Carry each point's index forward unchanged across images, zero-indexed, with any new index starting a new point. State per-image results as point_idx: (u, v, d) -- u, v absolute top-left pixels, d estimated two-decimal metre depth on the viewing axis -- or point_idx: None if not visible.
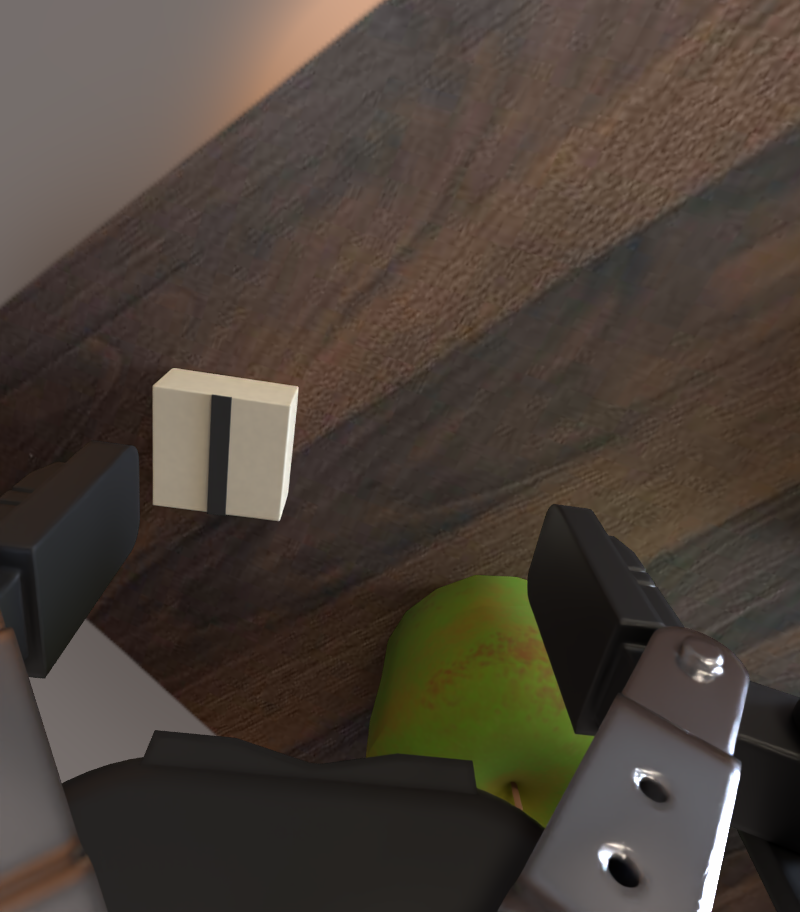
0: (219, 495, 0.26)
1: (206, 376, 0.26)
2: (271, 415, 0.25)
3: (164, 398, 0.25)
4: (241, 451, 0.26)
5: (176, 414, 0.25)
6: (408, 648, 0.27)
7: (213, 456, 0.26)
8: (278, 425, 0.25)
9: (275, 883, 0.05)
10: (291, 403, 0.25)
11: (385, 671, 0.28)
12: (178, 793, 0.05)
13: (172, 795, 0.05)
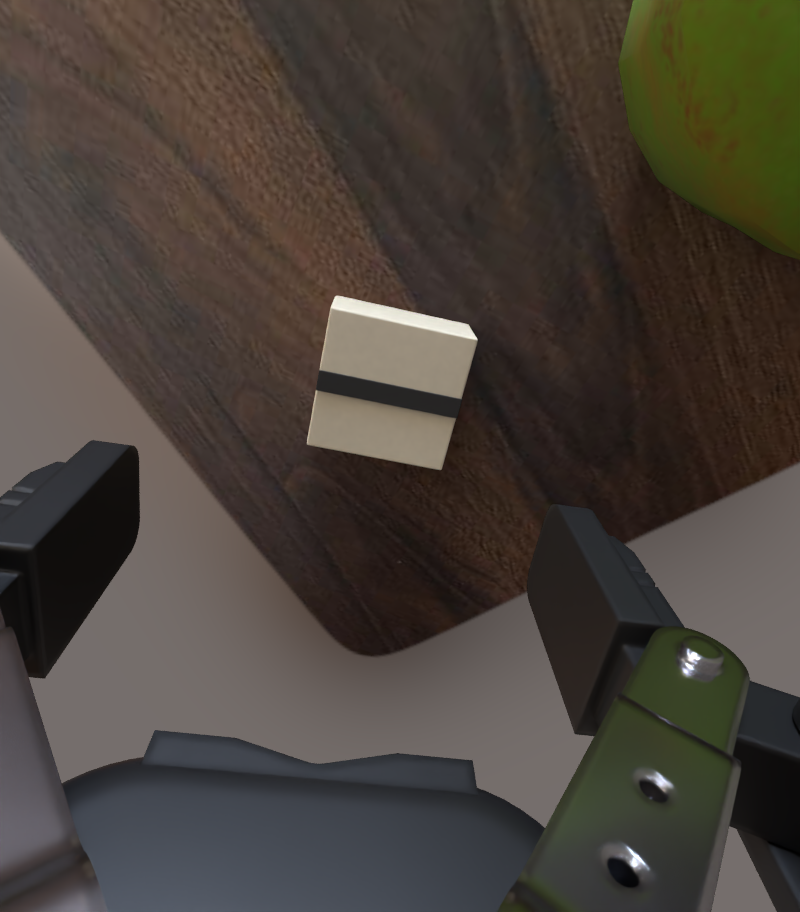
0: (435, 401, 0.23)
1: None
2: (341, 330, 0.22)
3: (320, 436, 0.24)
4: (384, 369, 0.23)
5: (337, 428, 0.24)
6: (679, 179, 0.18)
7: (387, 399, 0.23)
8: (354, 324, 0.22)
9: (275, 883, 0.05)
10: (332, 306, 0.22)
11: (722, 219, 0.19)
12: (178, 793, 0.05)
13: (172, 795, 0.05)
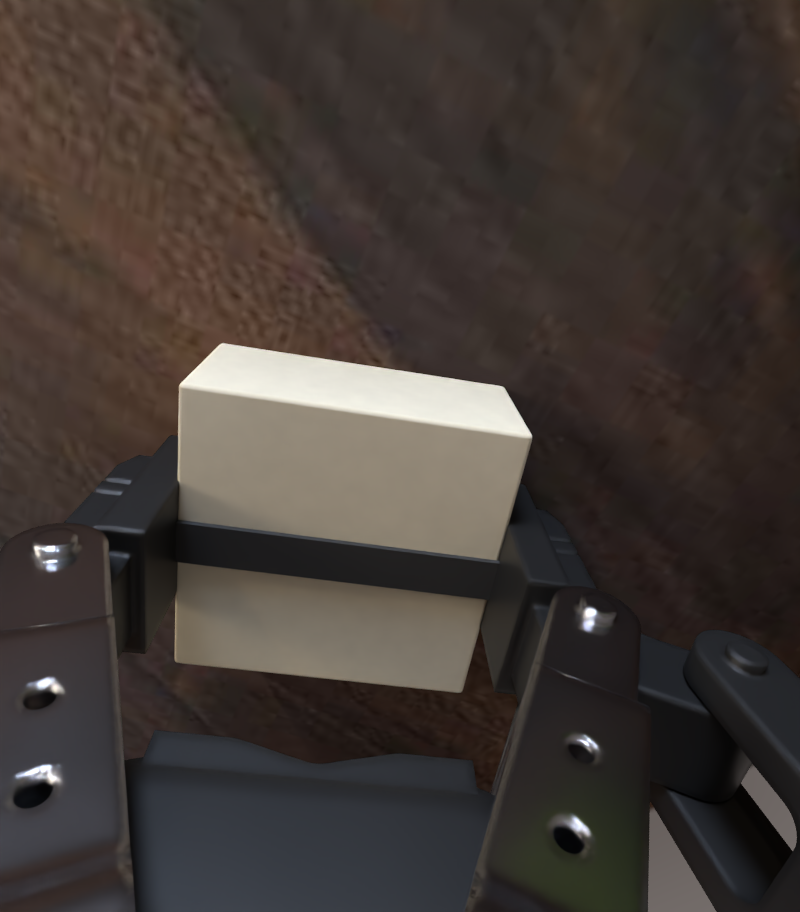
0: (441, 570, 0.11)
1: None
2: (211, 434, 0.10)
3: (200, 646, 0.11)
4: (321, 511, 0.10)
5: (234, 629, 0.11)
6: None
7: (336, 570, 0.11)
8: (239, 417, 0.09)
9: (275, 883, 0.05)
10: (188, 377, 0.10)
11: None
12: (178, 793, 0.05)
13: (172, 795, 0.05)
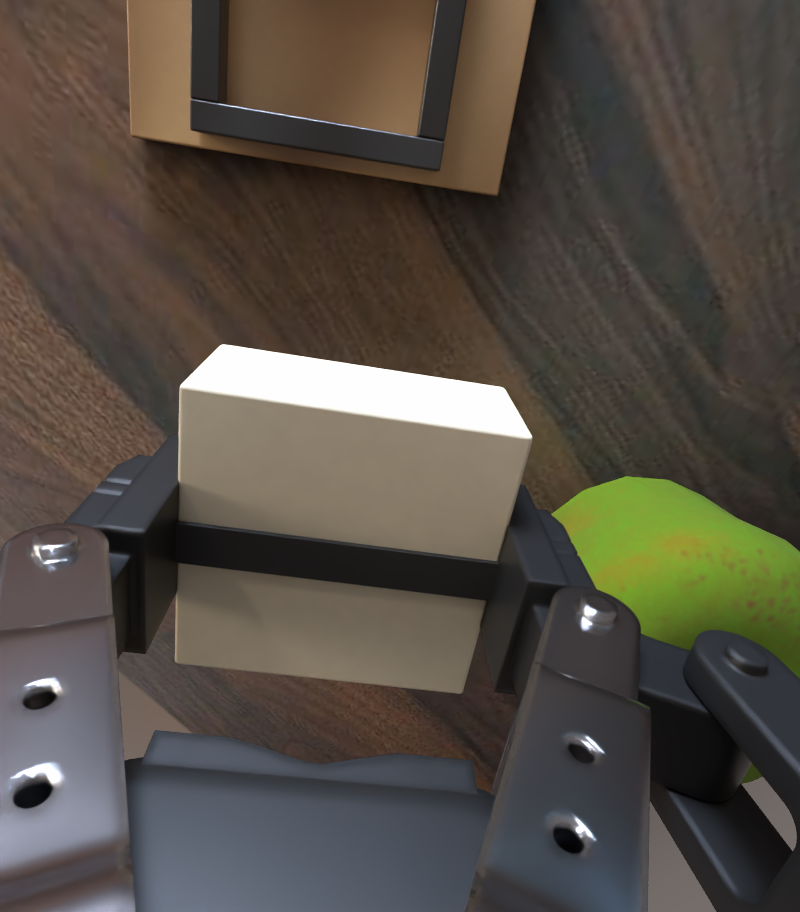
0: (442, 570, 0.11)
1: None
2: (212, 435, 0.10)
3: (200, 647, 0.11)
4: (321, 512, 0.10)
5: (235, 630, 0.11)
6: None
7: (336, 571, 0.11)
8: (239, 418, 0.09)
9: (275, 883, 0.05)
10: (188, 378, 0.10)
11: None
12: (178, 793, 0.05)
13: (172, 795, 0.05)
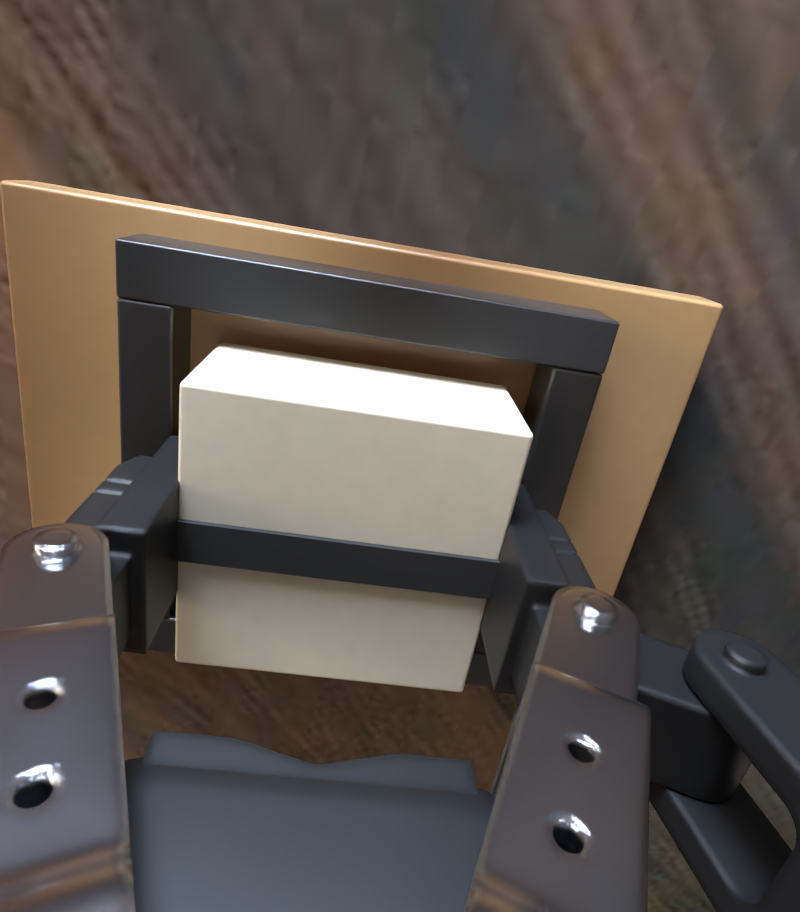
0: (442, 569, 0.11)
1: None
2: (212, 432, 0.10)
3: (200, 645, 0.11)
4: (321, 510, 0.10)
5: (234, 629, 0.11)
6: None
7: (336, 569, 0.11)
8: (239, 416, 0.09)
9: (275, 883, 0.05)
10: (188, 376, 0.10)
11: None
12: (178, 793, 0.05)
13: (172, 795, 0.05)
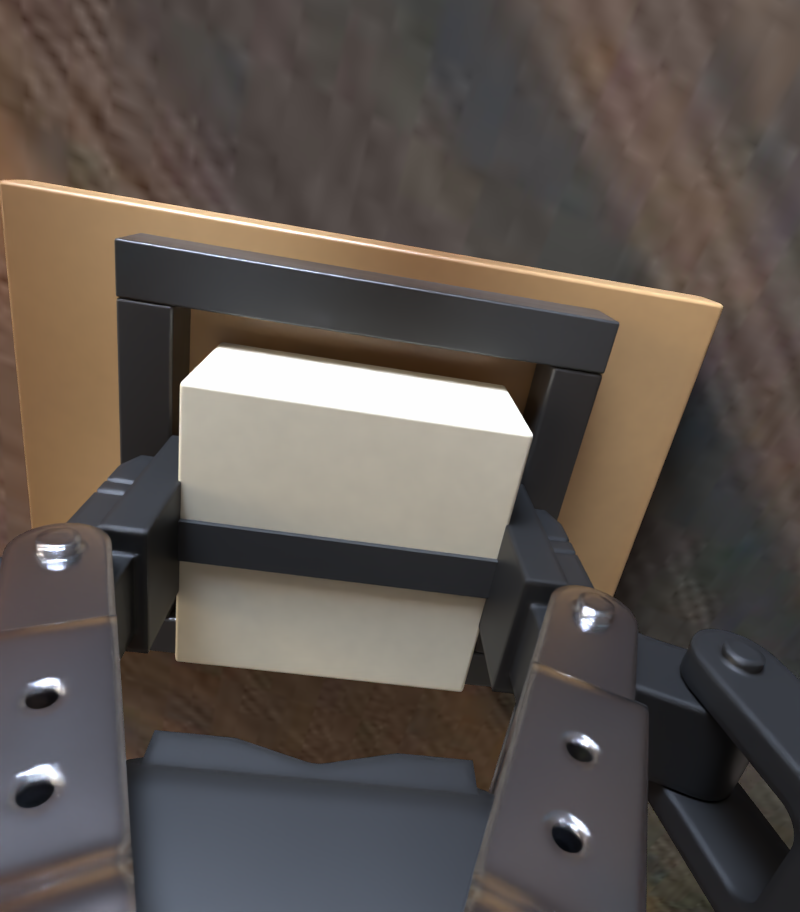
0: (442, 568, 0.11)
1: None
2: (213, 432, 0.10)
3: (201, 644, 0.11)
4: (321, 510, 0.10)
5: (235, 628, 0.11)
6: None
7: (336, 569, 0.11)
8: (239, 416, 0.09)
9: (275, 883, 0.05)
10: (189, 376, 0.10)
11: None
12: (178, 793, 0.05)
13: (172, 795, 0.05)
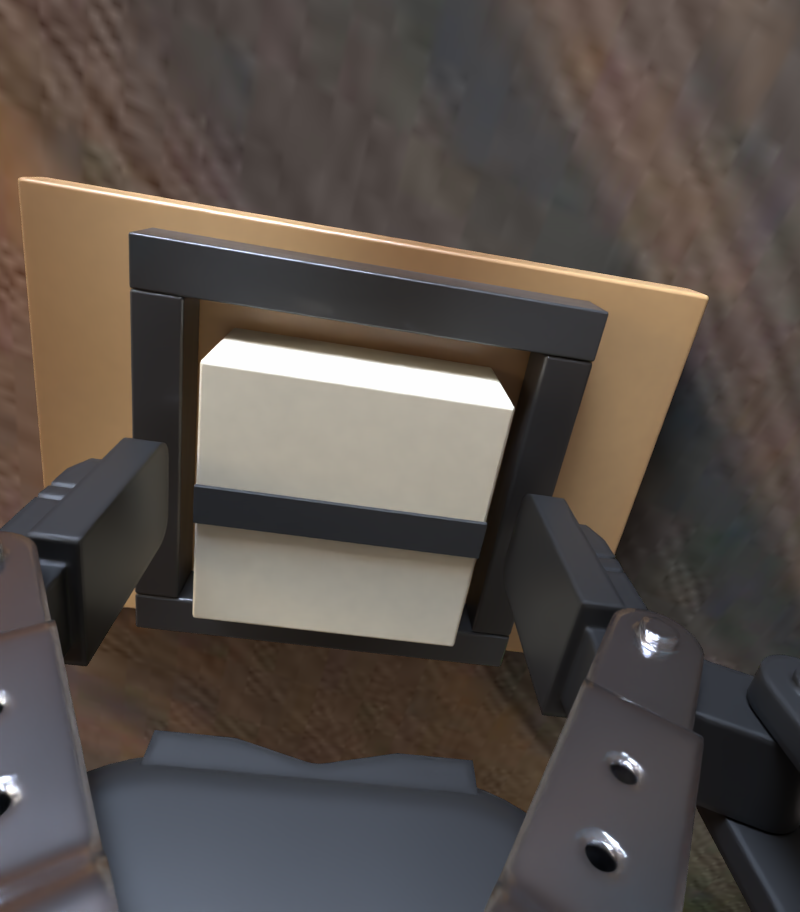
0: (434, 530, 0.12)
1: None
2: (229, 405, 0.11)
3: (216, 602, 0.12)
4: (326, 477, 0.11)
5: (247, 587, 0.12)
6: None
7: (339, 530, 0.12)
8: (253, 391, 0.11)
9: (275, 883, 0.05)
10: (207, 355, 0.11)
11: None
12: (178, 793, 0.05)
13: (172, 795, 0.05)
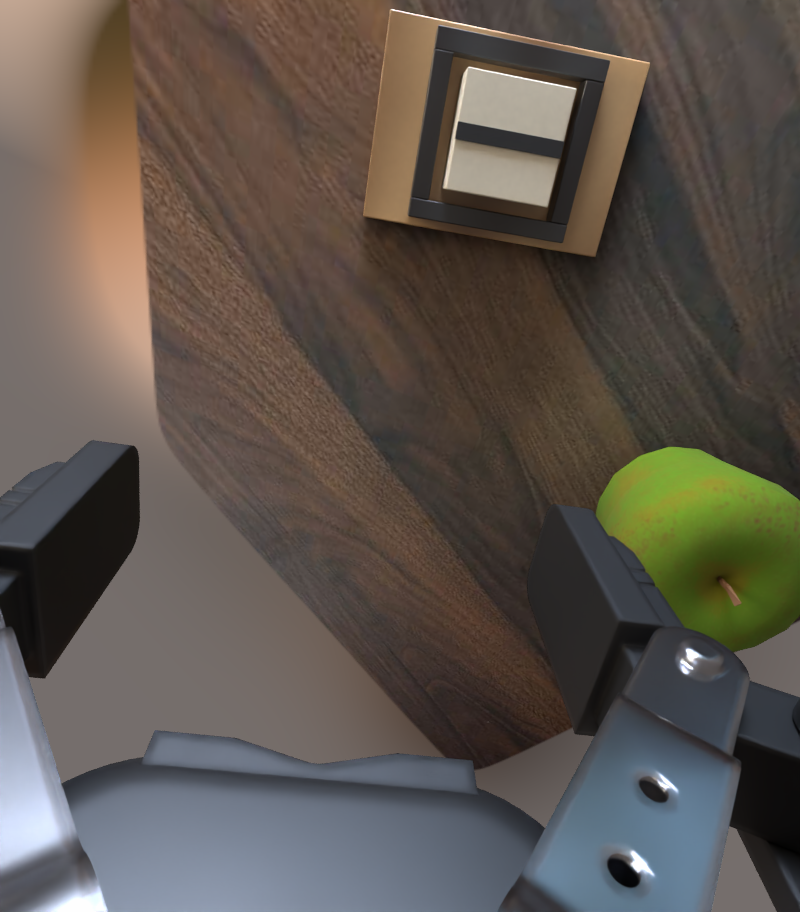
0: (544, 144, 0.31)
1: (447, 156, 0.33)
2: (475, 86, 0.30)
3: (456, 180, 0.32)
4: (506, 119, 0.31)
5: (469, 172, 0.32)
6: None
7: (508, 144, 0.31)
8: (484, 79, 0.30)
9: (275, 883, 0.05)
10: (467, 68, 0.30)
11: None
12: (178, 793, 0.05)
13: (172, 795, 0.05)
